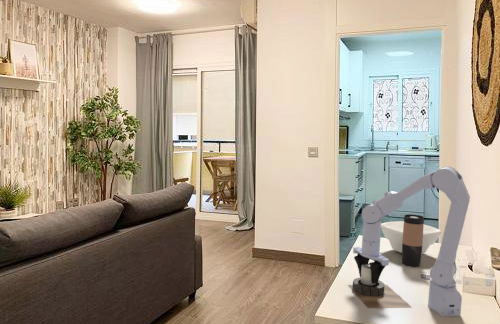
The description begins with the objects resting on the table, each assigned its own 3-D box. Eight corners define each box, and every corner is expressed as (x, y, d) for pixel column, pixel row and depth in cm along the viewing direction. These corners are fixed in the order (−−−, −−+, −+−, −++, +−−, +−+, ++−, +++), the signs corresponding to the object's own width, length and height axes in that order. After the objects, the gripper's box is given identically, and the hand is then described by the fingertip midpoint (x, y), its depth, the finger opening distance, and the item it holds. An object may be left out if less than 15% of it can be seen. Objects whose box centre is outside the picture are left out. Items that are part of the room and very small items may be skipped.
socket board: (411, 310, 128) (412, 299, 128) (367, 311, 127) (368, 300, 126) (385, 286, 146) (386, 277, 146) (347, 287, 145) (347, 277, 145)
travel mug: (422, 263, 173) (425, 216, 171) (419, 268, 166) (422, 219, 164) (402, 260, 177) (406, 213, 175) (399, 265, 170) (402, 216, 168)
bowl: (372, 247, 194) (373, 222, 193) (409, 243, 203) (410, 220, 202) (407, 262, 174) (408, 235, 173) (446, 257, 182) (448, 231, 181)
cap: (376, 286, 137) (377, 268, 137) (360, 284, 138) (361, 267, 138) (375, 280, 142) (376, 263, 142) (360, 279, 143) (361, 262, 143)
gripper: (396, 244, 134) (394, 285, 136) (364, 233, 147) (362, 271, 148) (380, 247, 131) (377, 289, 132) (349, 235, 144) (347, 273, 145)
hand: (368, 279), depth 140 cm, fingers closed on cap, 5 cm apart
